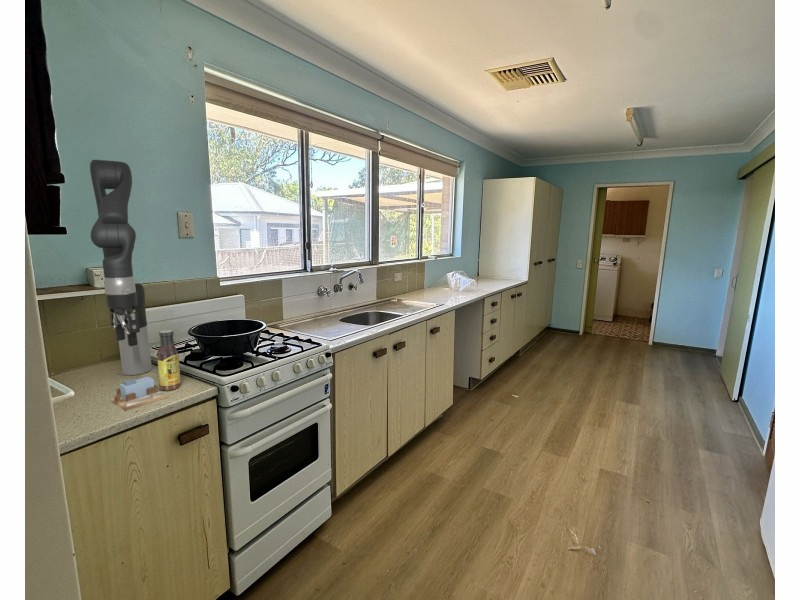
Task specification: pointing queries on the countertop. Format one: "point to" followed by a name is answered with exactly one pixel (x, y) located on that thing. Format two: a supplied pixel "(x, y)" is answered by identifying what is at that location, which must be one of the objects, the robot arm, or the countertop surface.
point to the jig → (136, 402)
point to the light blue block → (136, 387)
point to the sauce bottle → (168, 362)
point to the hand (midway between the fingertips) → (126, 342)
